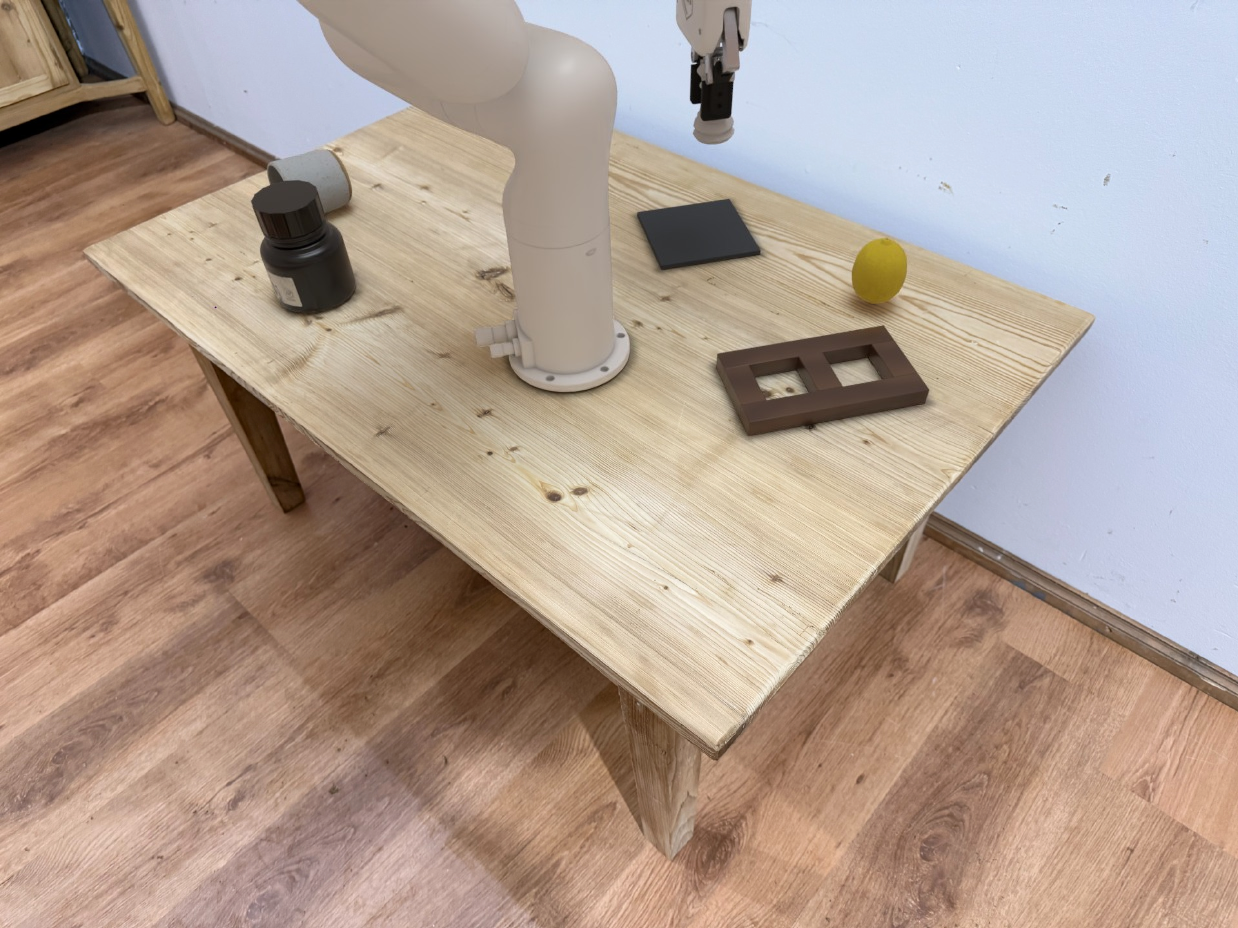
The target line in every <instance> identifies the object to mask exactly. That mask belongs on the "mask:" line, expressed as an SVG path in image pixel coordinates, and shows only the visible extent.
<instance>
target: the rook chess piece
mask: <svg viewBox="0 0 1238 928" xmlns="http://www.w3.org/2000/svg"><path fill="white" fill-rule="evenodd" d="M722 58H723V56H720V57H719V59H718V60H717V57H714V65H715V63H716V62H717V61H721V60H722ZM697 72H698V74H699V75H700V77H701V79H702V81H704V80H705V57H703V59H701V61H700V66H699V67H698V69H697ZM701 84H702V82H701V83H700V85H699V86H700V88H701ZM700 109H701V104H699V111H697V114H696V117H694V121H693V125H692V127H693V128H694V129H693V132H692V135H693V137H694V138H695V139H696V141H698V142H699V143H701V144H703V145H710V146H711V145H720V144H723V143H726V142H728V141H729V140H730V139H731V138H732V137H733V136H734V134H735V128H734V123H735V120H734V118H733V116H732V115H731V117H730V118H727V119H719V120H712V121H702V119H701V117H700Z"/></svg>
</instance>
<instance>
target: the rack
mask: <svg viewBox="0 0 1238 928" xmlns="http://www.w3.org/2000/svg"><path fill="white" fill-rule="evenodd" d="M865 358H866V359H867V358H868V359H869V360H870V362H871V364H872V365H873V367H874V369H875V370H876V371H877V373H878V375H879V376H880V377H881V379H878V380H877V379H876V380H872V381H866V382H861V383H853V384H850V385H849V384H848V385H844V386H843V384H842V382H841V381H840V379H839V377H838V376H837V374H836V372H835V371H834V369H833V367H832V366H831V365H832V364H837V363H843V362H849V361H854V360H861V359H865ZM715 367H716V370H717V372H718V374H719V376H720V379H721V380H722V382H723V383H722V384H723V385H724V388H725V389H726V391H727V394H728V396H729V398H730V401H731V402H732V405H733V407H734V409H735V411H736V414H737V415H738V417H739V420H740V421H741V424H742V426H743V428H744V430H745V432H746V435H747V436H754V435H759V434H760V435H761V434H765V433H771V432H776V431H782V430H787V429H792V428H799V427H803V426H810V425H815V424H821V423H826V422H831V421H836V420H842V419H847V418H848V419H849V418H853V417H859V416H863V415H868V414H874V413H879V412H886V411H890V410H896V409H902V408H907V407H911V406H913V407H914V406H917V405H922V404H923V405H924V404H926V402H927V399H928V396H929V393H930V388H929V386H928V385H927V384H926V383H925V381H924V380H923V379H922V377H921V375H920V374H919V373H918V371H917V370H916V369H915V367H914V366H913V364H912V363H911V361H910V360H909V358H908V357H907V356H906V355H905V353H904V352H903V350H902V349H901V347H900V346H899V344H898V343H897V341H896V340H895V339H894V337H893V336H892V335H891V334H890V332H889V330H888V329H887V327H886V326H885V325H883V324H882V325H877V326H871V327H865V328H859V329H854V330H853V329H852V330H848V331H847V330H846V331H842V332H841V331H840V332H836V333H829V334H823V335H817V336H813V337H805V338H800V339H794V340H788V341H781V342H778V343H771V344H766V345H758V346H754V347H753V346H752V347H748V348H747V347H746V348H742V349H735V350H730V351H723V352H718V353H716V365H715ZM792 371H797V373H798V375H799V377H800V379H801V380H802V382H803V384H804V386H805V388H806V389H807V391H808V392H804V393H799V394H793V395H787V396H783V397H776V398H770V399H767V398H766V397H765V395H764V392H763V390H762V389H761V387H760V385H759V382H758V381H757V379H756V378H757V377H762V376H768V375H774V374H779V373H785V372H792Z"/></svg>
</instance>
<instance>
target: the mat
mask: <svg viewBox="0 0 1238 928" xmlns="http://www.w3.org/2000/svg"><path fill="white" fill-rule="evenodd" d="M636 216H637V219H638V221H639V223H640V225H641V227H642V230H643V232H644V234H645V237H646V238H647V241H648V244H649V245H650V247H651V249H652V252H653V254H654V256H655V259H656V261H657V264H658V266H659V267H660V269H661V271H662V270H668V269H674V268H675V269H676V268H681V267H688V266H694V265H700V264H707V263H714V262H720V261H727V260H732V259H733V260H734V259H741V258H745V257H746V258H747V257H752V256H758V255H761V250H762V249H761V248H760V247H759V245H758V243H757V242H756V240H755V239H754V237H753V235H752V234H751V232H750V231H749V228H748V227H747V226H746V224H745V222H744V220H743V219H742V217H741V215H740V214H739V212H738V211H737V209H736V208H735V205H734V204H733V202H732V201H731V199H730V198H724V199H718V200H711V201H704V202H697V203H690V204H683V205H676V206H670V207H663V208H657V209H649V210H643V211H637V212H636Z"/></svg>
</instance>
